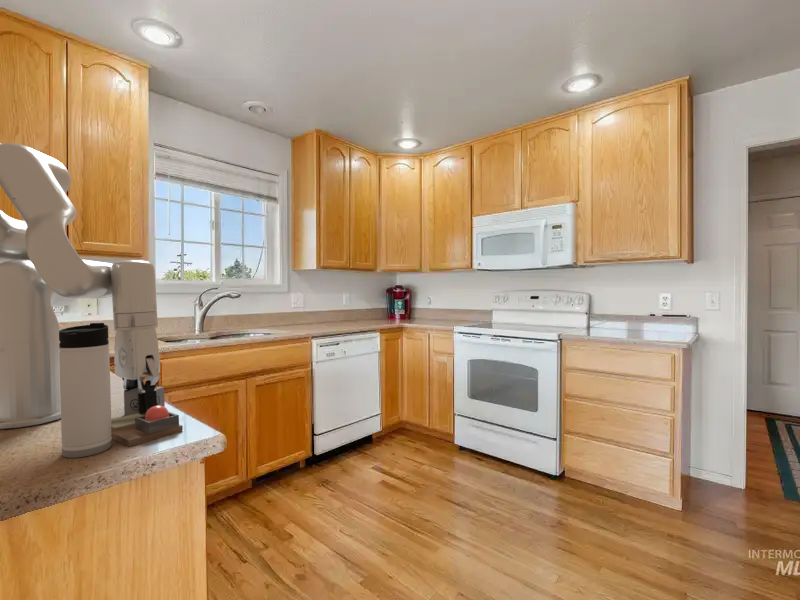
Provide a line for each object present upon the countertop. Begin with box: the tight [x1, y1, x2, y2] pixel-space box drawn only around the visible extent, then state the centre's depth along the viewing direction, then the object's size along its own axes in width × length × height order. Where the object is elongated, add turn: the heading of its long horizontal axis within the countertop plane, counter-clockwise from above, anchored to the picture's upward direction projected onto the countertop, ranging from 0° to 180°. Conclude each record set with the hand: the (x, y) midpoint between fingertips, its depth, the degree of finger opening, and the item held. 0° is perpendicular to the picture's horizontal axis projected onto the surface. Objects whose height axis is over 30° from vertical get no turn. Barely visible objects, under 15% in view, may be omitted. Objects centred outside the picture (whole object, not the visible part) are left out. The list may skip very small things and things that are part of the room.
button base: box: [111, 411, 184, 447], centre depth 74 cm, size 15×9×3 cm, turn 56°
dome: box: [145, 405, 170, 422], centre depth 72 cm, size 4×4×4 cm
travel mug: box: [59, 322, 113, 459], centre depth 64 cm, size 6×7×20 cm
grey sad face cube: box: [123, 386, 166, 416], centre depth 84 cm, size 5×5×5 cm
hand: (141, 408), depth 83 cm, fingers closed on grey sad face cube, 5 cm apart
